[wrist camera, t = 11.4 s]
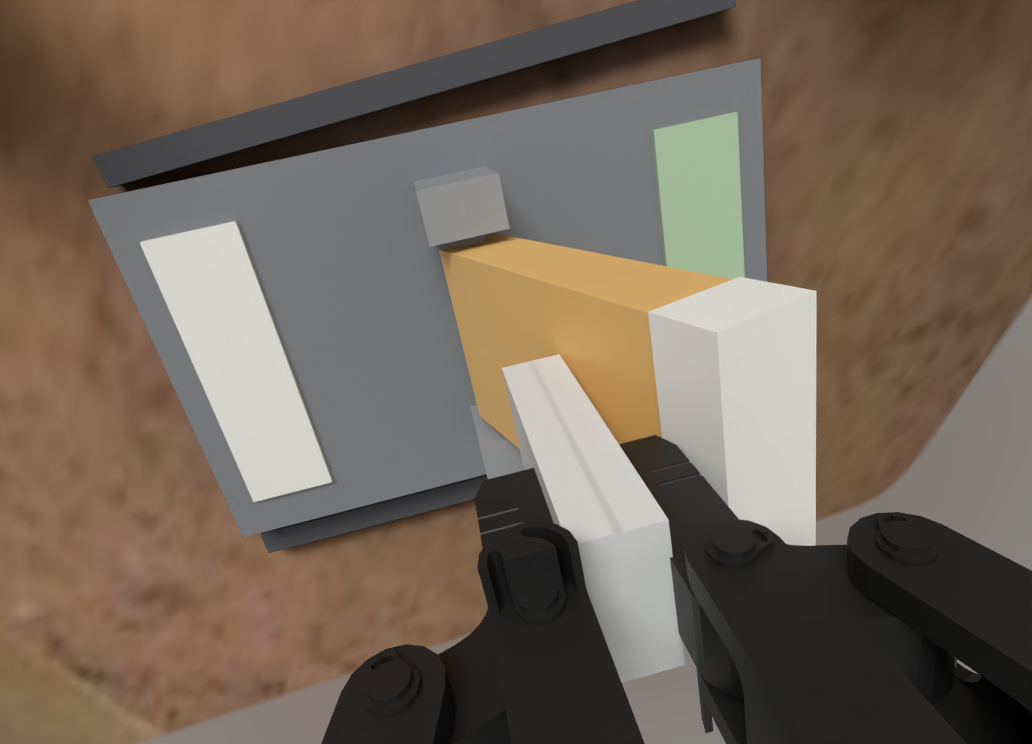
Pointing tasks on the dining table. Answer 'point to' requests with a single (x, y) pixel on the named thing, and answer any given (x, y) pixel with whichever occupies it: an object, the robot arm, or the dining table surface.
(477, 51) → the dark grey bar
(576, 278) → the breaker lever
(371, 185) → the panel
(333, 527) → the dark grey edge strip
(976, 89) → the dining table surface
